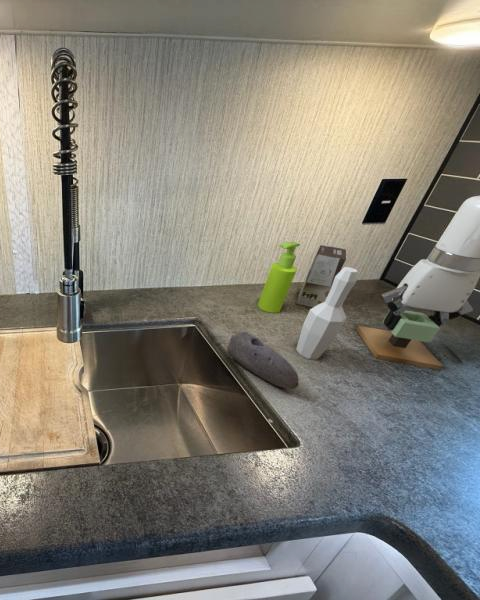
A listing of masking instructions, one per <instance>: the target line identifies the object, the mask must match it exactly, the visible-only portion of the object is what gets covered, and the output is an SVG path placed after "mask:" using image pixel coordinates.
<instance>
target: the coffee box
mask: <svg viewBox="0 0 480 600" xmlns="http://www.w3.org/2000/svg"><path fill="white" fill-rule="evenodd" d="M346 261H347V249H345V248H341V247H335V246H329V245H322V244H320V245H319V247H318V249H317V251H316V254H315V256H314V258H313V261H312V263H311V265H310V268H309V270H308V272H307V275H306V277H305V279H304V281H303V284H302V286H301V289H300V292H299V294H298V298H297V302H296V303H297V304H298V305H301V306H305V307H309V308H311V309H312V308H313V307H315V306H317V305H319V304H321V303H323V302H325V300H326V298H327V296H328V294H329V292H330V290H331V287H332V284H333V282H334V279H335V276H336V275H337V274H338V273H339V272H340V271H341V270H342V269H343V268H344V267H343V266H344V264H345V262H346Z"/></svg>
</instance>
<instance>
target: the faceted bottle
mask: <svg viewBox="0 0 480 600" xmlns="http://www.w3.org/2000/svg"><path fill="white" fill-rule="evenodd" d="M358 274H359V271H358V270H357V269H355V268H353V267H349V266H344V267H342V269H341V271H340V272H339V273H338V274H337V275H336V276H335V279H334V282H333V284H332V287H331V290H330V292H329V294H328V296H327V298H326V300H325V302H323V303H321V304H319V305H317V306H315V307H313V308H312V307H311V308H310V309H309V311H308V314H307V316H306V318H305V320H304V322H303V324H302V327H301V331H300V334H299V338H298V342H297V344H296V349H295V351H297V353H298V354H299V355H300V356H302V357H303V358H305V359H308V360H318V359H320V358H321V356H322V355H323V354H324V352H325V351H326V350H327V348H328V347H329V346H330V345H331V343H332V342H333V341H334V340H335V338H336V337H337V336H338V335H339V333H340V331H341V330H342V327H343V326H344V324H345V322H346V321H347V316H346V313H345V311H344V308H343V304H344V303H345V300H346V298H347V297H348V295H349V293H350V291H351V290H352V289H353V287H354V286H355V284H356V283H357V281H358Z"/></svg>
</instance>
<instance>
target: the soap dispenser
mask: <svg viewBox="0 0 480 600" xmlns="http://www.w3.org/2000/svg"><path fill="white" fill-rule="evenodd" d="M300 246H301V243H299V242H296V241H287V242H284V243H281V244H280V245H279V246H278V247H280V248H281V249H285V250H286V251H285V252H282V253H281V255H280V257H279V259H278V262H273V263H272V264H271V267H270V269H269V272H268V275H267V278H266V280H265V283H264V286H263V289H262V291H261V294H260V297H259V300H258V302H257V307H258V308H259V310H262V311H264V312H265V313H271V314H277V313H279V312H280V311H281V309H282V307H283V304H284V302H285V300H286V297H287V294H288V292H289V290H290V287H291V284H292V283H293V280H294V278H295V275H296V273H297V270H298V268H297V267H296V266H294V263H295V261H296V259H297V255H296V254H294V253H295V251H296V248H297V247H300Z"/></svg>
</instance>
